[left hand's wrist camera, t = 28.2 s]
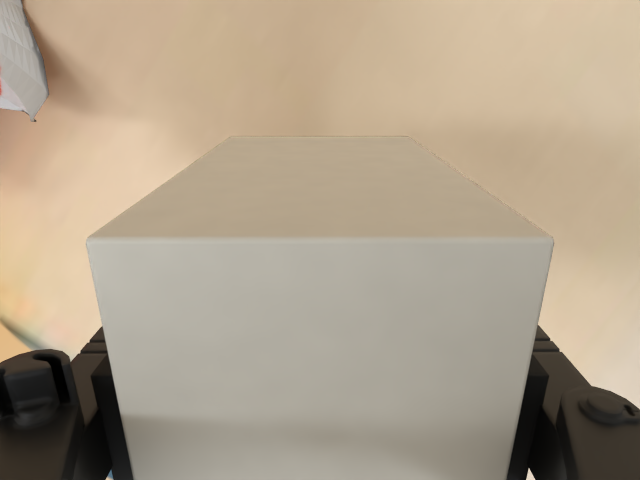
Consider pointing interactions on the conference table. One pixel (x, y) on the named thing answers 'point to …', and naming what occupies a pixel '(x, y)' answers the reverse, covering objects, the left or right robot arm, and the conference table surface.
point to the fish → (20, 62)
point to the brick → (319, 315)
